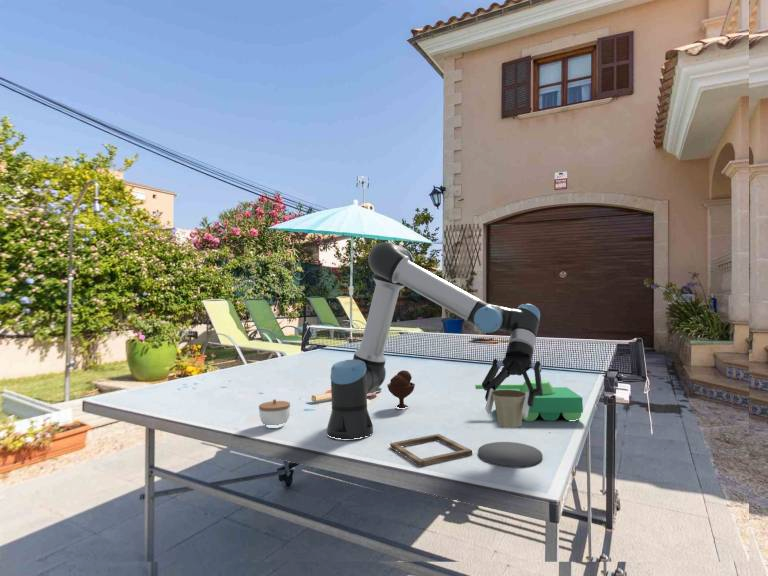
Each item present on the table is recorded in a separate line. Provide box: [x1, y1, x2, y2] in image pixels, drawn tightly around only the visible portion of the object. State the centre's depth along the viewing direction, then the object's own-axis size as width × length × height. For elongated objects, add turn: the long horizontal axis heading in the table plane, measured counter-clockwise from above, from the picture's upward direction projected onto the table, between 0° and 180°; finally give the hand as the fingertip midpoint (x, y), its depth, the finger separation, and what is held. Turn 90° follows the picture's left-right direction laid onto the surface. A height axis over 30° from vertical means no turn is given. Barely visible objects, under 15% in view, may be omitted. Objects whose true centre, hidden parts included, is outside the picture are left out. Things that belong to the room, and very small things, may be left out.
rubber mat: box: [477, 441, 543, 468], centre depth 119 cm, size 17×17×1 cm
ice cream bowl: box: [386, 369, 416, 408], centre depth 173 cm, size 11×11×15 cm
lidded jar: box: [258, 399, 291, 426], centre depth 153 cm, size 11×11×9 cm
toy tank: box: [475, 379, 584, 422], centre depth 158 cm, size 18×12×35 cm
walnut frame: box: [389, 433, 473, 467], centre depth 124 cm, size 17×17×1 cm
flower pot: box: [491, 390, 526, 429], centre depth 119 cm, size 9×9×9 cm
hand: (505, 413), depth 116 cm, fingers closed on flower pot, 9 cm apart
